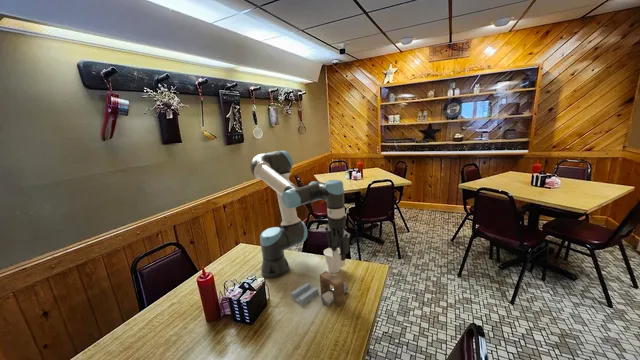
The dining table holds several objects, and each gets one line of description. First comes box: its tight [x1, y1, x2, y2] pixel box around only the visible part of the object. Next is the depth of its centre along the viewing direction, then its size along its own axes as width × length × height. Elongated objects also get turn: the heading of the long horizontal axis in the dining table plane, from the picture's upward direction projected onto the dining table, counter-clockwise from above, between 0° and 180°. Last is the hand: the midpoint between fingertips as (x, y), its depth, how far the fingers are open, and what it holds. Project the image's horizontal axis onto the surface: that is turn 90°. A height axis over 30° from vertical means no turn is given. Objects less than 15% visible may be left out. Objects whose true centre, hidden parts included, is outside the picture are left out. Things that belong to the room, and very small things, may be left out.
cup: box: [323, 247, 341, 274], centre depth 135 cm, size 10×10×11 cm
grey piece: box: [320, 281, 349, 307], centre depth 114 cm, size 13×5×5 cm, turn 133°
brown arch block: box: [319, 270, 346, 308], centre depth 113 cm, size 11×4×11 cm, turn 44°
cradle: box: [290, 282, 320, 307], centre depth 117 cm, size 8×10×3 cm
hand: (339, 264), depth 115 cm, fingers open, 3 cm apart
